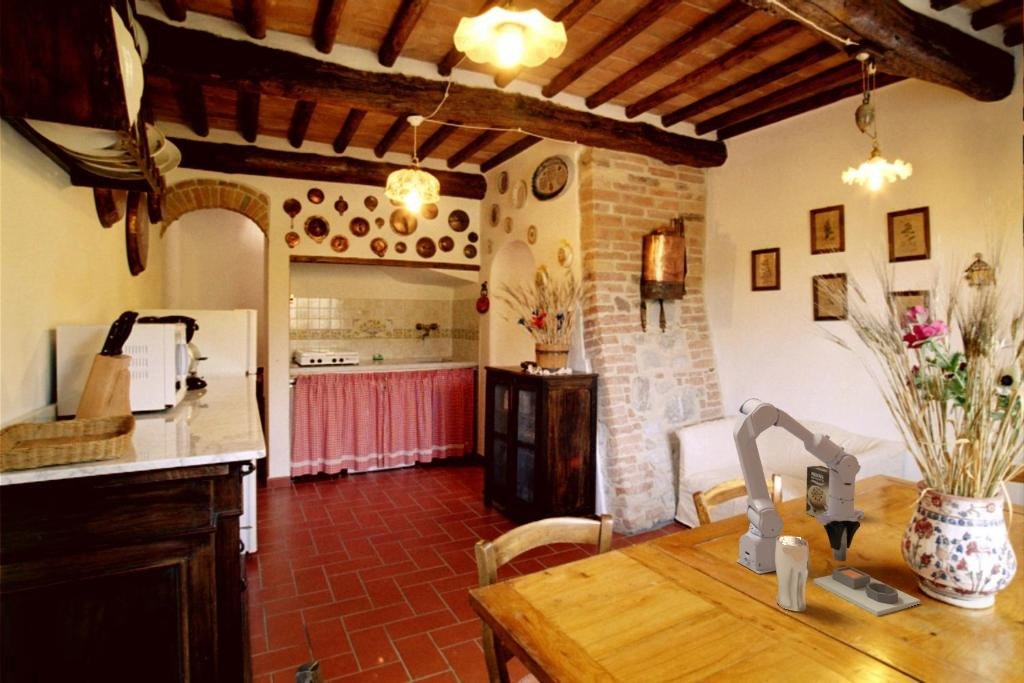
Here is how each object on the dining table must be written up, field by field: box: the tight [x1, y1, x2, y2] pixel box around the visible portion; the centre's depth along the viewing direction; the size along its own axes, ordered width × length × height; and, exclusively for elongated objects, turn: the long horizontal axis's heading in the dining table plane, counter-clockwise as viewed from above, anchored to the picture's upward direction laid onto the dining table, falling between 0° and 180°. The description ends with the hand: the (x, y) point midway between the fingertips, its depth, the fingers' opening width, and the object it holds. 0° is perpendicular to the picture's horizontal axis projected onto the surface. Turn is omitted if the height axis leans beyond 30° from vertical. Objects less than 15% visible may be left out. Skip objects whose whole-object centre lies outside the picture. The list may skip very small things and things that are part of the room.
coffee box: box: [805, 465, 834, 519], centre depth 177 cm, size 9×6×16 cm
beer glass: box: [775, 534, 810, 612], centre depth 122 cm, size 7×7×15 cm
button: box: [840, 569, 863, 578], centre depth 131 cm, size 4×4×1 cm
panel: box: [813, 565, 921, 617], centre depth 128 cm, size 14×16×4 cm
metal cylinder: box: [832, 523, 848, 562], centre depth 141 cm, size 3×3×9 cm
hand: (840, 547), depth 141 cm, fingers closed on metal cylinder, 3 cm apart
